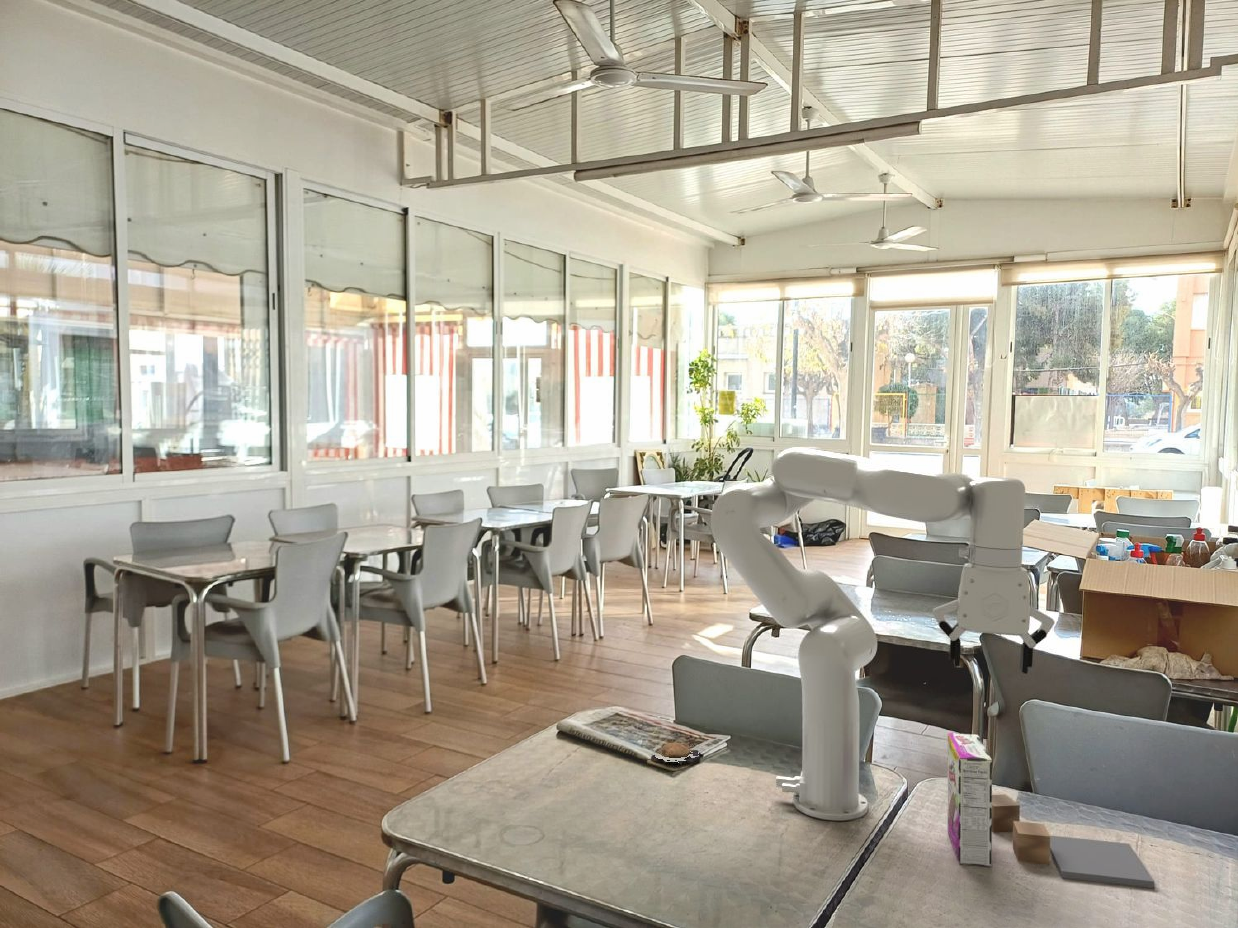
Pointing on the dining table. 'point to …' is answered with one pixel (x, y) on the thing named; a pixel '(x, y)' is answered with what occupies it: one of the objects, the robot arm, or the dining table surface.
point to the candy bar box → (970, 799)
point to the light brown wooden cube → (1031, 842)
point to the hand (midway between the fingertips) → (989, 667)
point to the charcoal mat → (1098, 861)
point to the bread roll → (675, 752)
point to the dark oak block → (1004, 813)
